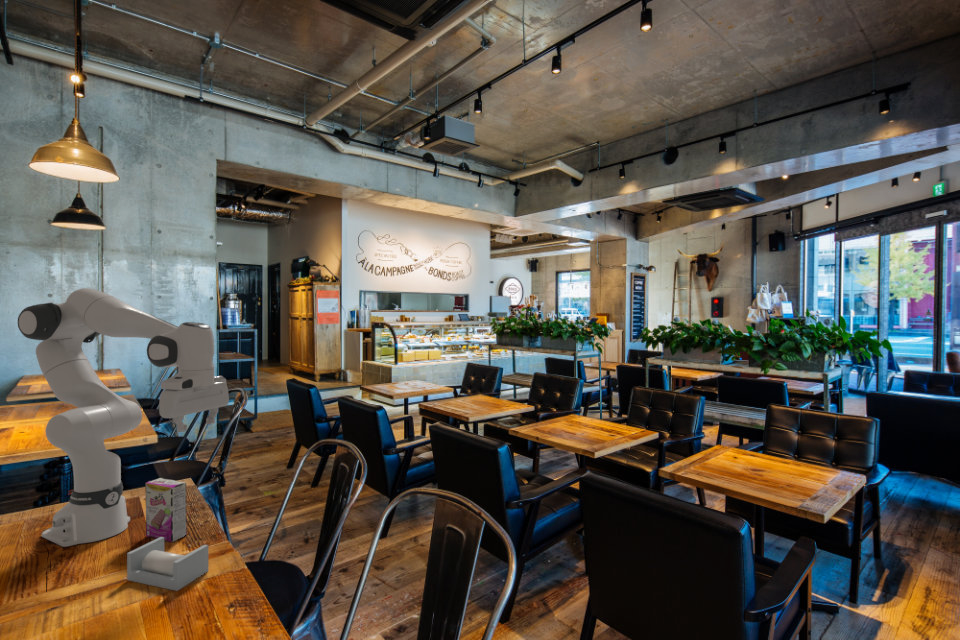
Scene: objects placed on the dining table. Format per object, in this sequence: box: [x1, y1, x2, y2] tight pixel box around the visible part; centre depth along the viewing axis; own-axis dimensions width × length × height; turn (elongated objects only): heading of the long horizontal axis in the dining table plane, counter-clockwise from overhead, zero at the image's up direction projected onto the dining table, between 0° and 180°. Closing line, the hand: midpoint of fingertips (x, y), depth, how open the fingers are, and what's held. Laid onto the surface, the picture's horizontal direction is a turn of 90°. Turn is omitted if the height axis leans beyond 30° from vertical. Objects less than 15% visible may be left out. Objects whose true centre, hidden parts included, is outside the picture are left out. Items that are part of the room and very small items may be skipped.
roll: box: [142, 550, 186, 577], centre depth 119 cm, size 10×5×5 cm, turn 74°
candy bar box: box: [144, 477, 188, 543], centre depth 140 cm, size 11×5×16 cm, turn 71°
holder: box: [126, 537, 209, 592], centre depth 119 cm, size 16×9×7 cm, turn 74°
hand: (196, 427), depth 134 cm, fingers open, 8 cm apart
